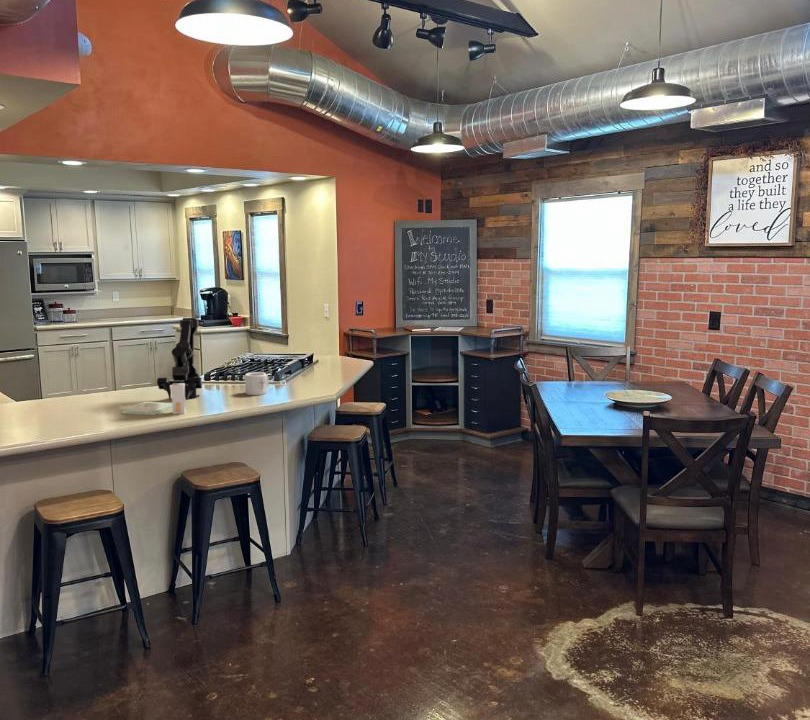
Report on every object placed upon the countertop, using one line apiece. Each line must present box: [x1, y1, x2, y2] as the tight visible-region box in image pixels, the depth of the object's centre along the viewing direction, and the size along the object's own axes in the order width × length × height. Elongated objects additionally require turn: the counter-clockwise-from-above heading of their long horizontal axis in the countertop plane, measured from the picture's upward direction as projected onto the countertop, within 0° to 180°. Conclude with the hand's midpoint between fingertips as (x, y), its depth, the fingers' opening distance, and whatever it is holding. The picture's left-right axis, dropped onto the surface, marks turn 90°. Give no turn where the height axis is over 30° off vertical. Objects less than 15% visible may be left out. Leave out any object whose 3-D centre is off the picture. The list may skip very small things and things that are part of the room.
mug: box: [244, 371, 269, 396], centre depth 347 cm, size 14×11×10 cm
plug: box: [171, 383, 187, 415], centre depth 302 cm, size 5×5×13 cm
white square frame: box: [130, 401, 163, 412], centre depth 305 cm, size 10×10×2 cm
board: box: [121, 401, 172, 416], centre depth 309 cm, size 20×15×1 cm
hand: (178, 398), depth 301 cm, fingers open, 7 cm apart
